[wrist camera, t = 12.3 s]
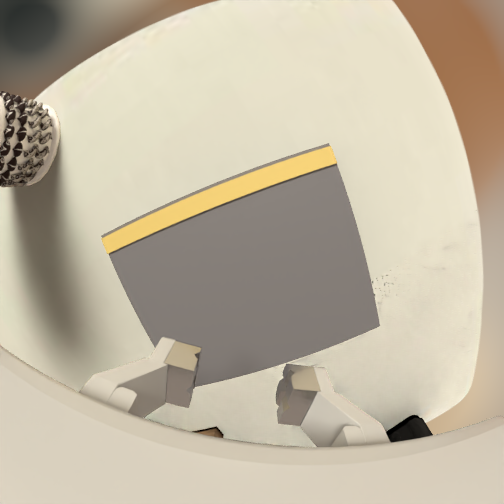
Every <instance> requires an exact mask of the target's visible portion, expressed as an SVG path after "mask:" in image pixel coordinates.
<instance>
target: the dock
mask: <svg viewBox="0 0 504 504" xmlns="http://www.w3.org/2000/svg"><path fill="white" fill-rule="evenodd" d="M102 242H103V245H104V247H105V249H106V252H107V254H109V256H110V259H111V261H112V263H113V265H114V268H115V270H116V272H117V275H118V277H119V279H120V281H121V283H122V285H123V288H124V290H125V292H126V294H127V296H128V298H129V300H130V302H131V304H132V306H133V308H134V310H135V312H136V314H137V316H138V318H139V319H140V321H141V323H142V325H143V327H144V329H145V331H146V332H147V334H148V336H149V338H150V340H151V341H152V343H153V345H154V347H155V348H156V346H157V344H158V343H159V341H160V339H161V338H162V337H167V338H171V339H174V340H178V341H181V342H185V343H188V344H192V345H196V346H200V347H202V352H201V358H200V361H199V370H198V375H197V380H196V384H195V387H197V386H202V385H206V384H211V383H215V382H219V381H223V380H227V379H231V378H235V377H239V376H243V375H246V374H250V373H254V372H257V371H261V370H264V369H267V368H271V367H274V366H277V365H280V364H283V363H286V362H289V361H292V360H295V359H298V358H301V357H304V356H307V355H310V354H313V353H315V352H318V351H321V350H323V349H326V348H329V347H331V346H334V345H336V344H339V343H342V342H344V341H346V340H349V339H351V338H354V337H356V336H358V335H361V334H363V333H365V332H368V331H370V330H372V329H374V328H377V327H379V326H380V324H379V318H378V313H377V308H376V303H375V298H374V293H373V288H372V283H371V279H370V275H369V270H368V266H367V262H366V258H365V254H364V250H363V246H362V243H361V239H360V235H359V232H358V228H357V225H356V221H355V218H354V214H353V211H352V208H351V205H350V202H349V198H348V195H347V192H346V189H345V186H344V183H343V180H342V177H341V175H340V172H339V169H338V166H337V161H336V158H335V156H334V153H333V150H332V148H331V146H330V145H329V144H325V145H322V146H319V147H315V148H312V149H309V150H306V151H303V152H300V153H297V154H294V155H291V156H288V157H285V158H282V159H279V160H276V161H273V162H270V163H267V164H264V165H262V166H259V167H256V168H253V169H251V170H248V171H245V172H243V173H240V174H237V175H235V176H232V177H230V178H227V179H225V180H222V181H220V182H217V183H215V184H212V185H210V186H207V187H205V188H202V189H200V190H198V191H195V192H193V193H190V194H188V195H186V196H184V197H181V198H179V199H177V200H174V201H172V202H170V203H168V204H166V205H163V206H161V207H159V208H157V209H155V210H152V211H150V212H148V213H146V214H144V215H142V216H140V217H138V218H136V219H134V220H132V221H130V222H127V223H125V224H123V225H121V226H119V227H117V228H116V229H114V230H112V231H110V232H108V233H106V234H104V235H102Z"/></svg>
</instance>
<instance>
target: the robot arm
mask: <svg viewBox="0 0 504 504" xmlns="http://www.w3.org/2000/svg"><path fill="white" fill-rule="evenodd" d="M201 352H202V347H200V346H196V345H192V344H188V343H185V342H181V341H178V340H174V339H171V338H167V337H162V338H161V339H160V341H159V343H158V344H157V346H156V348H155V349H154V351H153V353H152V354H151V356H150V358H149V359H148V358H143V359H140V360H137V361H134V362H131V363H128V364H125V365H122V366H119V367H116V368H112V369H109V370H106V371H103V372H99V373H96V374H93V375H92V377H91V378H90V379H89V380H88V382H87V383H86V384H85V385H84V387H83V388H82V389H81V390H80V392H77V391H75V390H73V389H71V388H69V387H67V386H65V385H63V384H62V383H60V382H58V381H56V380H54V379H52V378H50V377H49V376H47V375H45V374H43V373H42V372H40V371H38V370H37V369H35V368H33V367H32V366H30V365H29V364H27V363H25V362H24V361H22V360H21V359H19V358H18V357H16V356H15V355H13V354H12V353H10V352H9V351H8V350H6V349H5V348H3V347H2V346H1V344H0V504H504V417H503V416H496V417H493V418H491V419H488V420H485V421H482V422H479V423H477V424H473V425H471V426H467V427H463V428H460V429H457V430H453V431H449V432H445V433H441V434H437V435H432V436H428V437H423V438H417V439H412V440H406V441H399V442H392V443H391V442H390V440H389V438H388V436H387V434H386V432H385V430H384V428H383V426H382V424H381V423H380V422H378V421H377V420H375V419H374V418H372V417H371V416H370V415H368V414H367V413H365V412H364V411H362V410H361V409H360V408H358V407H357V406H356V405H354V404H353V403H351V402H350V401H349V400H347V399H346V398H345V397H343V396H342V395H341V394H339V393H335V391H334V389H333V386H332V384H331V381H330V379H329V376H328V373H327V371H326V369H325V368H324V367H313V366H312V367H311V366H301V365H293V364H286V366H285V368H284V370H283V377H284V378H283V379H282V380H280V381H279V384H278V387H277V392H276V404H277V405H278V406H279V407H278V410H277V417H278V424H287V425H296V426H300V427H301V429H302V430H303V431H304V432H305V433H306V435H307V436H308V437H309V438H310V439H311V440H312V442H313V443H314V444H315V445H316V446H317V447H297V446H281V445H269V444H259V443H251V442H243V441H237V440H230V439H224V438H219V437H213V436H208V435H204V434H199V433H194V432H190V431H186V430H182V429H178V428H174V427H171V426H167V425H164V424H160V423H157V422H154V421H151V420H147V419H144V418H143V417H145V416H146V415H148V414H150V413H151V412H153V411H154V410H156V409H158V408H159V407H161V406H162V405H164V404H165V402H166V403H170V404H174V405H178V406H182V407H187V408H189V405H190V401H191V398H192V393H193V389H194V388H195V384H196V380H197V375H198V370H199V361H200V358H201Z"/></svg>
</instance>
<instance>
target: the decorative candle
mask: <svg viewBox="0 0 504 504" xmlns="http://www.w3.org/2000/svg"><path fill="white" fill-rule="evenodd" d="M59 140H60V122H59V119H58V116H57V113H56V111H55V110H53V109H52V108H51V107H50V106H48V105H43V104H42V103H39V104H38V105H37V102H36V101H34V102H33V100H29V101H28V102H27V98H24V99H23V100H22V101H21V97H20V96H15V95H11V96H10V94H9V93H8V92H3V91H2V92H0V186H1V187H13V186H24V185H27V186H30V185H32V184H34V183H36V182H39V181H40V180H41V179H42V177H43V176H44V175H45V174H46V173H47V172H48V171H49V169H50V167H51V164H52V162H53V160H54V158H55V156H56V153H57V148H58V144H59Z"/></svg>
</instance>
